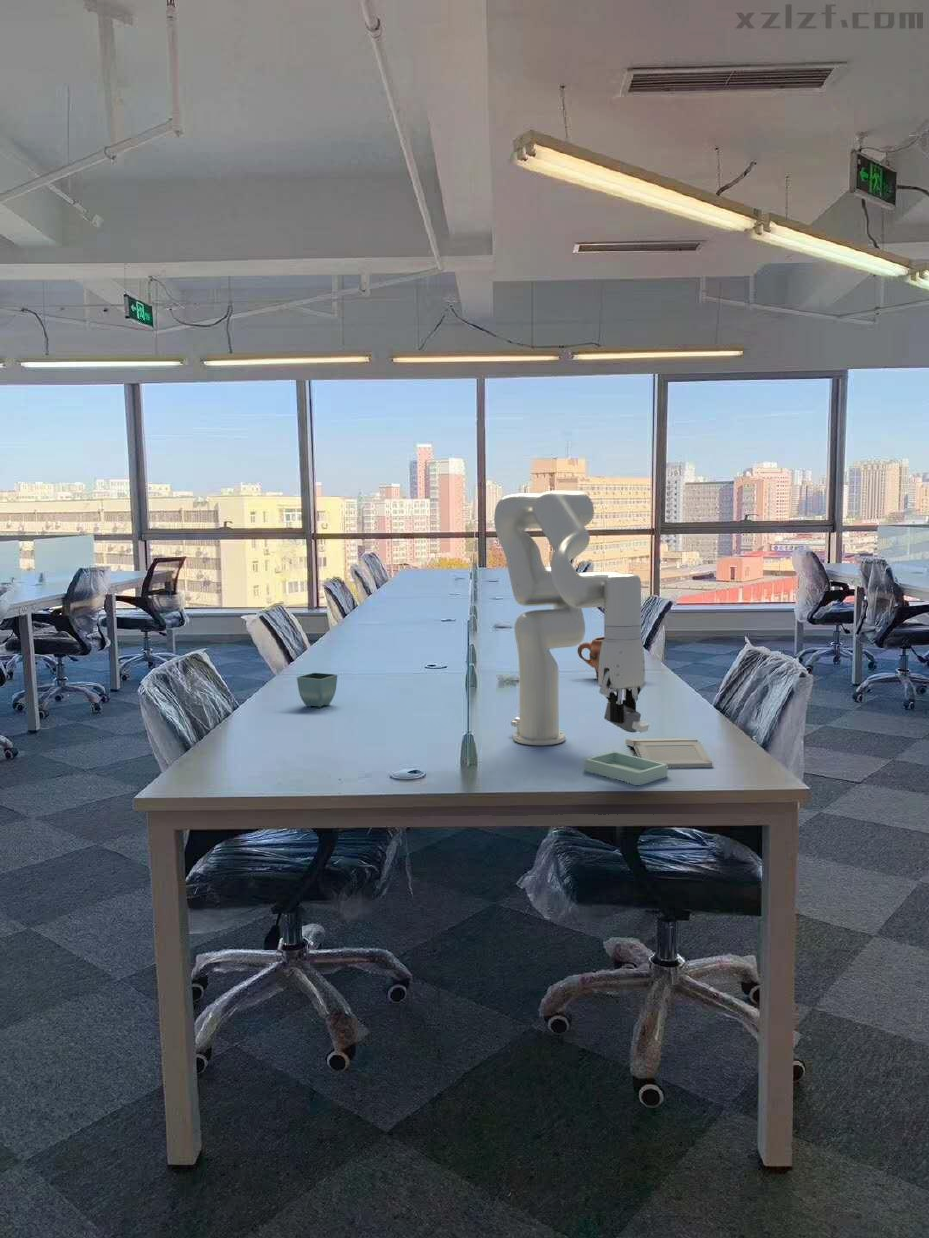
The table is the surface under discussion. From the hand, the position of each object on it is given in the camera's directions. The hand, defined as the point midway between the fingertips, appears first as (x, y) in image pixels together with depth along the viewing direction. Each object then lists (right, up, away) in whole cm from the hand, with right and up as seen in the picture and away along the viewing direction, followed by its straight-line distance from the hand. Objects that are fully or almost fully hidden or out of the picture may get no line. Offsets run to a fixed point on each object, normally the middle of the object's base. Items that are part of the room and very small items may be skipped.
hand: (623, 720), depth 185 cm
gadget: (+13, -10, +16) cm, 23 cm away
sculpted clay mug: (+14, +1, +111) cm, 112 cm away
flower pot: (-76, -5, +75) cm, 107 cm away
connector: (0, -1, 0) cm, 1 cm away
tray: (+1, -11, +1) cm, 11 cm away
